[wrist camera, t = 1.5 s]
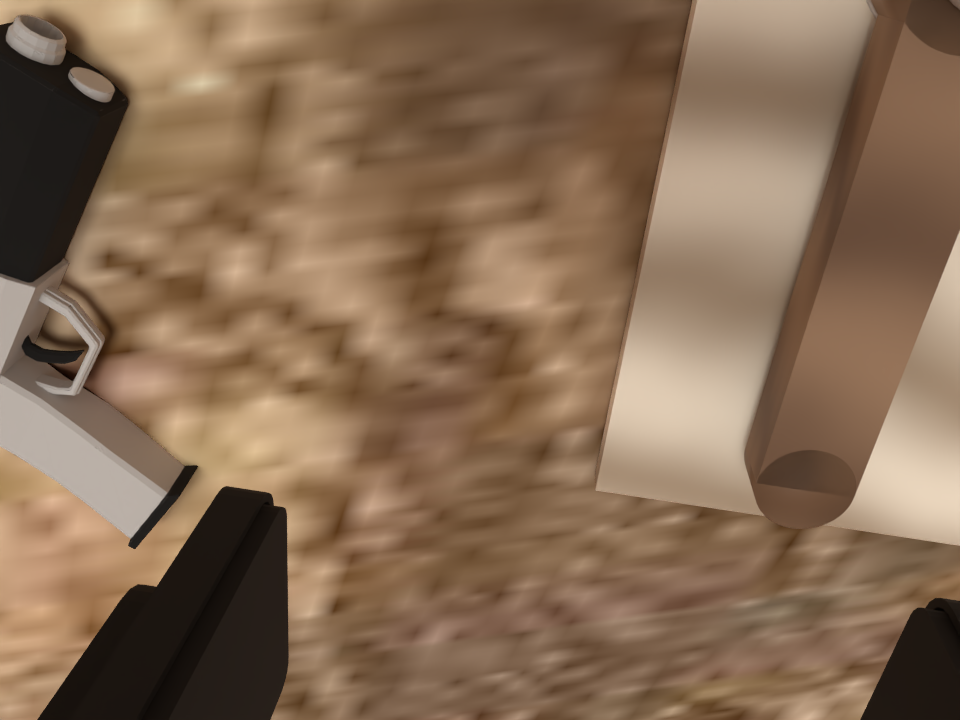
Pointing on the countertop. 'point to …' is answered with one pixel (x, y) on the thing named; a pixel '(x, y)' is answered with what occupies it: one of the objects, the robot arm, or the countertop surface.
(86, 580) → the countertop surface
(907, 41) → the walnut link
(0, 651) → the countertop surface
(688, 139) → the hinge board
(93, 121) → the toy gun
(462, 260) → the countertop surface
